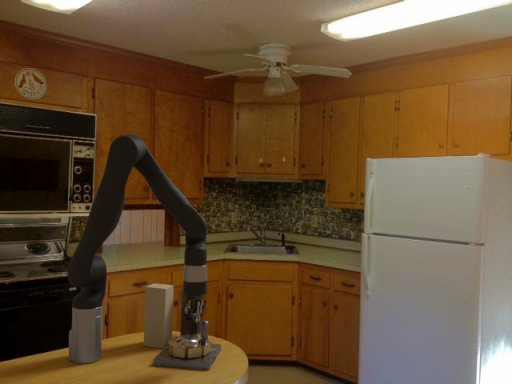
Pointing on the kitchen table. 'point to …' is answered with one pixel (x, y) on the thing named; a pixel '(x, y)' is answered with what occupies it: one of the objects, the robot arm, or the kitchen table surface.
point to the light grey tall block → (158, 315)
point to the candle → (184, 323)
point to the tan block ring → (194, 351)
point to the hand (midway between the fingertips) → (194, 333)
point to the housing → (192, 363)
